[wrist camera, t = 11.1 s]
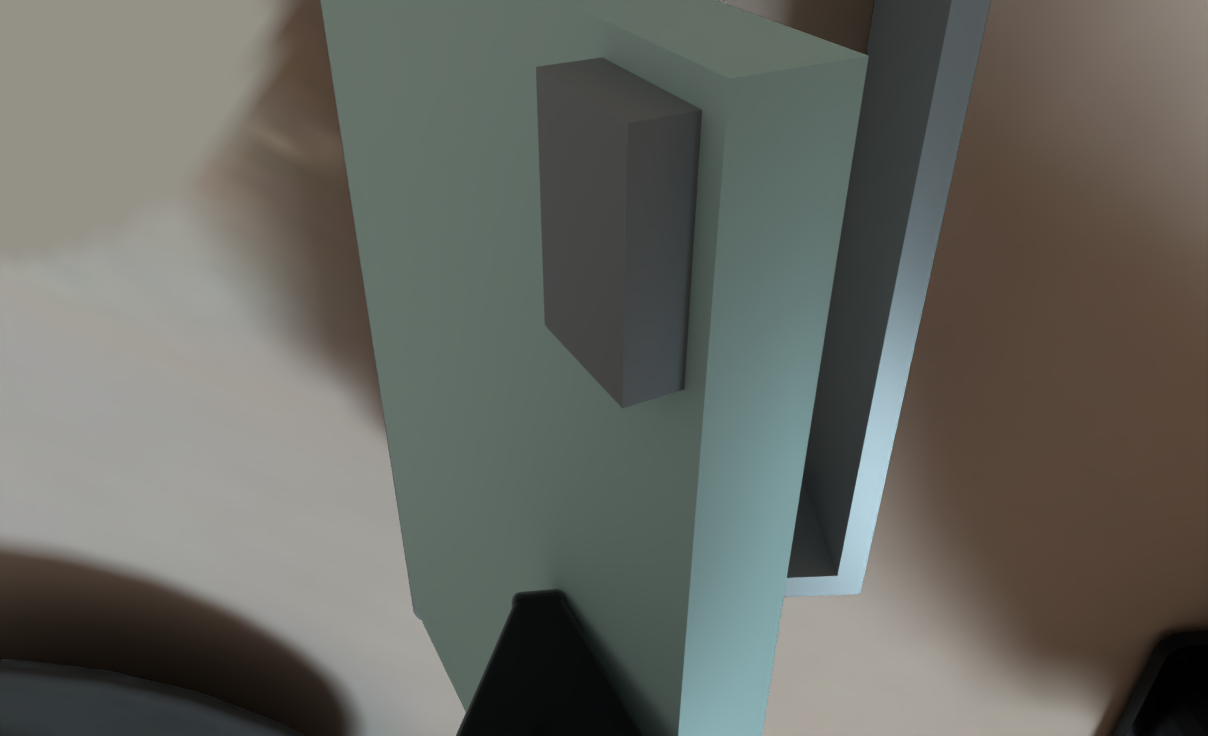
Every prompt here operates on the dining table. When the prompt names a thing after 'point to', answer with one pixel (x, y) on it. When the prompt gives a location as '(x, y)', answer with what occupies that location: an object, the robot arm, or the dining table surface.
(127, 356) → the dining table surface
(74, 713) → the casserole
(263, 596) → the dining table surface
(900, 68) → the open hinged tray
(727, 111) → the cover
